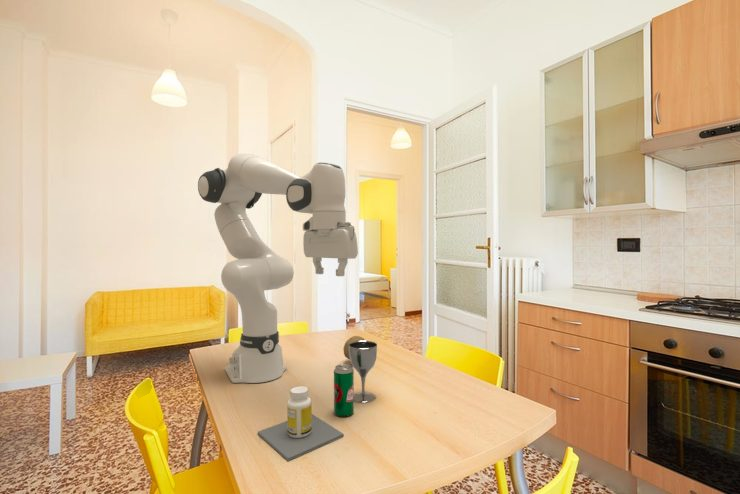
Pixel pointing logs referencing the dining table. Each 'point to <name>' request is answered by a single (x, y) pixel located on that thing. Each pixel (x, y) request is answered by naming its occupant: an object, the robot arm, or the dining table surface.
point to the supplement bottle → (299, 413)
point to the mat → (299, 446)
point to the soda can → (343, 390)
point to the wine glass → (363, 365)
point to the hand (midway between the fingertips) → (329, 275)
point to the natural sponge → (346, 346)
